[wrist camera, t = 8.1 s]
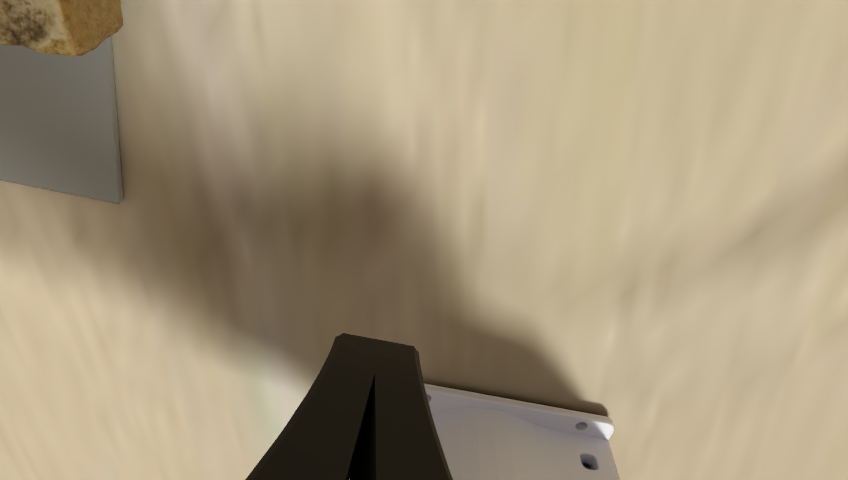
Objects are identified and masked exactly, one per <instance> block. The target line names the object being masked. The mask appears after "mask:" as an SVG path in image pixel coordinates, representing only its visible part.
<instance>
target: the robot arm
mask: <svg viewBox="0 0 848 480" xmlns="http://www.w3.org/2000/svg"><path fill="white" fill-rule="evenodd" d="M426 394H428V396H427V395H426ZM580 422H582V423H580ZM613 431H614V425H613V422H612V420H611V419H610V418H609V417H606V416H601V415H595V414H590V413H584V412H579V411H573V410H568V409H562V408H557V407H551V406H546V405H540V404H535V403H529V402H524V401H518V400H513V399H507V398H502V397H496V396H491V395H485V394H480V393H474V392H469V391H463V390H458V389H452V388H447V387H441V386H435V385H430V384H424V382H423V377H422V372H421V367H420V361H419V353H418V351H417V350H416V349H415V347H414V346H409V345H404V344H398V343H393V342H388V341H382V340H377V339H372V338H366V337H361V336H355V335H350V334H345V333H343V334H341V335H339V336H337V337H336V338H335V341H334V343H333V346H332V349H331V351H330V353H329V355H328V357H327V359H326V361H325V363H324V365H323V367H322V369H321V371H320V373H319V375H318V376H317V378H316V380H315V381H314V383H313V385H312V386H311V388H310V390H309V392H308V393H307V395H306V396H305V398H304V399H303V401H302V402H301V404H300V405H299V407H298V408H297V410H296V411H295V413H294V414H293V416H292V417H291V419H290V420H289V422H288V423H287V425H286V426H285V428H284V429H283V431H282V432H281V434H280V435H279V436H278V438H277V439H276V440H275V442H274V443H273V444H272V446H271V447H270V448H269V450H268V451H267V452H266V454H265V455H264V456H263V457H262V459H261V460H260V461H259V463H258V464H257V465H256V467H255V468H254V469H253V471H252V472H251V473H250V475H249V476H248V477H247V478H246V480H349V479H350V480H620V478H619V475H618V471H617V468H616V465H615V461H614V458H613V455H612V451H611V448H610V445H609V441H608V440H609V438H610V436H611V435H612V433H613Z"/></svg>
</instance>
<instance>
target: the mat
mask: <svg viewBox="0 0 848 480" xmlns="http://www.w3.org/2000/svg"><path fill="white" fill-rule="evenodd" d="M0 180H2V181H7V182H12V183H17V184H22V185H27V186H32V187H37V188H42V189H47V190H52V191H57V192H62V193H67V194H72V195H77V196H82V197H87V198H92V199H97V200H102V201H107V202H112V203H117V204H120V203H121V202H122V201H123V188H122V174H121V161H120V147H119V133H118V120H117V106H116V92H115V79H114V65H113V51H112V38H111V36H110V37H108V38H107V39H105V40H104V41H103V42H102V43H101V44H100V45H99V46H98V47H97V48H96V49H94V50H92V51H90V52H88V53H86V54H85V55H83V56H64V55H60V54H46V53H39V52H35V51H34V50H32V49H30V48H26V47H23V46H9V45H2V44H0Z"/></svg>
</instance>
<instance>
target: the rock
mask: <svg viewBox="0 0 848 480" xmlns="http://www.w3.org/2000/svg"><path fill="white" fill-rule="evenodd" d="M120 4H121V0H0V44H2V45H9V46H23V47H26V48H30V49H32V50H34V51H35V52H39V53H46V54H60V55H64V56H83V55H85V54H86V53H88V52H90V51H92V50H94V49H96V48H97V47H98V46H99V45H100V44H101V43H102V42H103V41H104V40H105V39H107V38H108V37H110V36H111V35H112V34H114V33H116V32H117V31H118V30H119V29H120V28H121V27H122V26H123V18H122V12H121V6H120Z"/></svg>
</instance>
